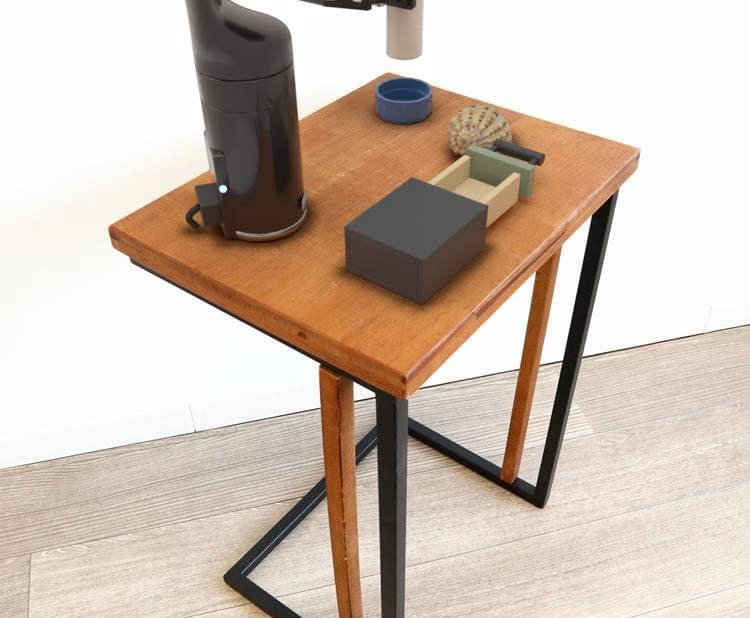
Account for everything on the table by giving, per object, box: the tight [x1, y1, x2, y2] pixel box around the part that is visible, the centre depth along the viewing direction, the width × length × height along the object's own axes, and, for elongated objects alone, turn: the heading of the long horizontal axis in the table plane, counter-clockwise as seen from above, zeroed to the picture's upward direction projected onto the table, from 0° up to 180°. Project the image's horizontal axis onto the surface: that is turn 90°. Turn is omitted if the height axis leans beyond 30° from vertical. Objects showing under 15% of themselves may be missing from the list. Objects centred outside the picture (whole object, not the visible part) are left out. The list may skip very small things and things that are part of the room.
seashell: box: [446, 103, 513, 157], centre depth 100 cm, size 8×6×10 cm
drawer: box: [427, 138, 546, 229], centre depth 91 cm, size 14×8×4 cm, turn 143°
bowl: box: [374, 76, 434, 125], centre depth 107 cm, size 7×7×3 cm
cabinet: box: [343, 176, 488, 305], centre depth 83 cm, size 11×9×5 cm
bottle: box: [385, 0, 425, 61], centre depth 98 cm, size 4×4×12 cm
